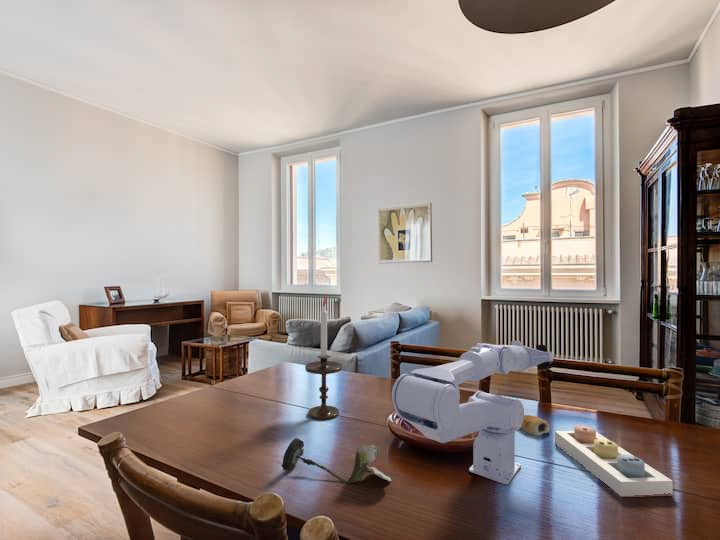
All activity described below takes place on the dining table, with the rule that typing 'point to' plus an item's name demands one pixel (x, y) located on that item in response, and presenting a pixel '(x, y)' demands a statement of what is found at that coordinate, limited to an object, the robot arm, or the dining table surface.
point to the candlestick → (323, 374)
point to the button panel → (613, 468)
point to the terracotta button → (584, 434)
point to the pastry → (534, 425)
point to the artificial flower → (362, 458)
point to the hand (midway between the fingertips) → (531, 357)
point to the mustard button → (605, 449)
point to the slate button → (630, 466)
